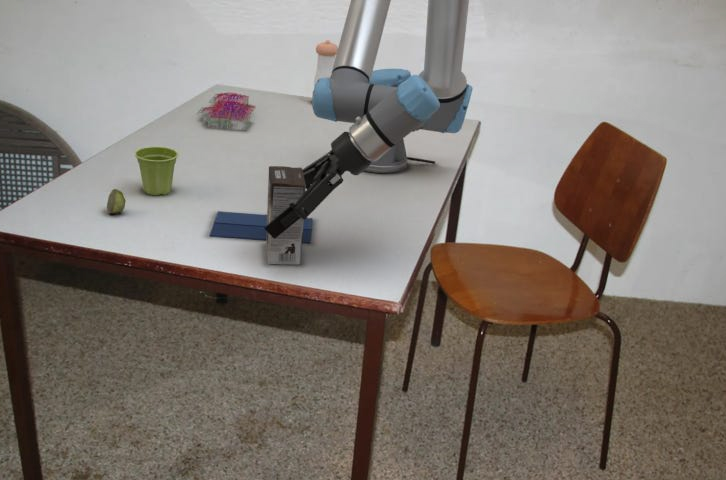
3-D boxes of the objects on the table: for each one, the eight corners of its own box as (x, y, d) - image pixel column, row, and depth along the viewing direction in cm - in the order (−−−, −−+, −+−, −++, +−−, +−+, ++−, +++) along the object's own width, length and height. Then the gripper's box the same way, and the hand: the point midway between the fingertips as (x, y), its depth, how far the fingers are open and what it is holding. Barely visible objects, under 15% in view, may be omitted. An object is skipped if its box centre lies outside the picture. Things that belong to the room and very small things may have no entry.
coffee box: (265, 244, 156) (268, 165, 148) (297, 244, 157) (302, 166, 149) (267, 264, 149) (270, 182, 141) (301, 265, 149) (306, 183, 141)
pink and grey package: (213, 100, 247) (213, 83, 244) (261, 105, 246) (262, 88, 243) (191, 127, 221) (190, 109, 218) (244, 132, 220) (245, 114, 217)
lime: (116, 218, 163) (115, 195, 161) (99, 212, 165) (97, 189, 163) (131, 212, 166) (130, 189, 164) (114, 206, 168) (113, 184, 166)
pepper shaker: (310, 105, 249) (314, 41, 240) (313, 99, 256) (317, 37, 246) (333, 107, 249) (338, 43, 239) (336, 101, 255) (341, 39, 245)
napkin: (312, 220, 168) (312, 218, 168) (310, 243, 158) (310, 241, 158) (218, 213, 169) (218, 211, 168) (209, 236, 158) (209, 233, 158)
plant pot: (186, 187, 181) (185, 150, 176) (166, 201, 173) (165, 162, 168) (149, 180, 183) (148, 144, 179) (128, 194, 175) (126, 155, 171)
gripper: (346, 111, 151) (264, 181, 159) (346, 152, 130) (252, 230, 137) (371, 141, 154) (289, 208, 161) (375, 186, 132) (281, 260, 140)
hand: (272, 218), depth 149 cm, fingers open, 13 cm apart
